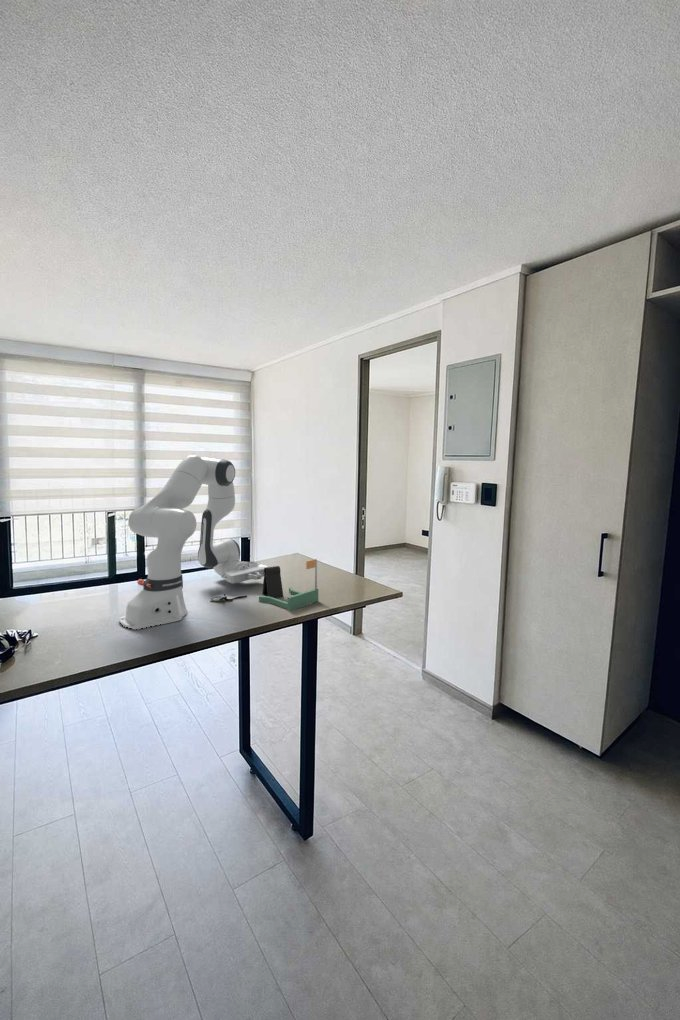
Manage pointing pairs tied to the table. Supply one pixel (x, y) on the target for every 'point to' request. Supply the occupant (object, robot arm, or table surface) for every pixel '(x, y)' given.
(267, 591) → the door stopper
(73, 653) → the table surface
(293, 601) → the putting pocket
